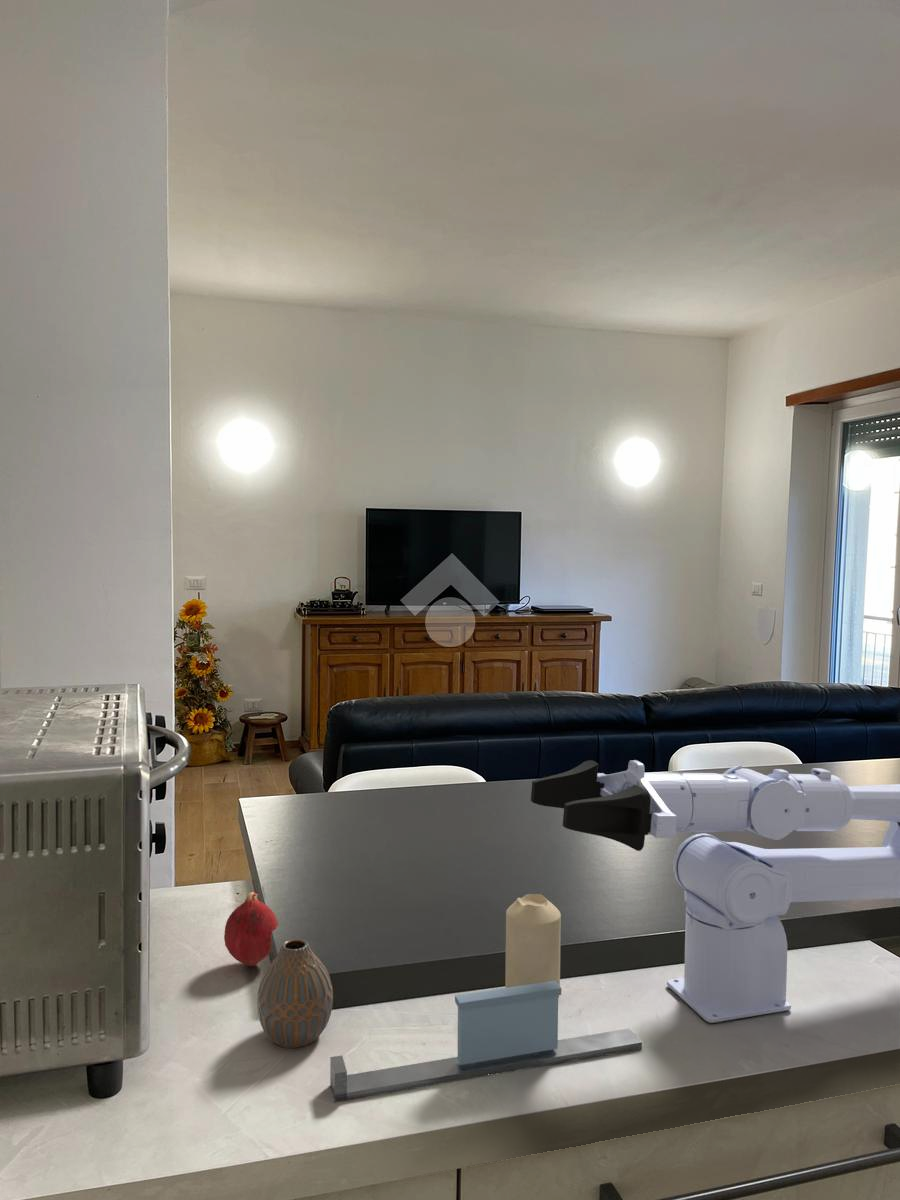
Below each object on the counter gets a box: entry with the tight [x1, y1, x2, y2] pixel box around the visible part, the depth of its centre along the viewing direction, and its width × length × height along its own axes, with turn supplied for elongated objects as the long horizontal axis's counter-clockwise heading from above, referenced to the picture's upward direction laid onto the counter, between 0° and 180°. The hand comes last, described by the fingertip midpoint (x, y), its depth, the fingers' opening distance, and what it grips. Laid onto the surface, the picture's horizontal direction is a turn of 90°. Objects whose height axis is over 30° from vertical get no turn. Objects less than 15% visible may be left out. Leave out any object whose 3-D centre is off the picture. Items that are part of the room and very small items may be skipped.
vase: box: [256, 938, 334, 1049], centre depth 81 cm, size 7×7×9 cm
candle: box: [504, 893, 562, 998], centre depth 89 cm, size 6×6×10 cm
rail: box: [329, 1028, 643, 1103], centre depth 76 cm, size 28×2×2 cm, turn 106°
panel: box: [454, 981, 562, 1065], centre depth 77 cm, size 9×1×6 cm, turn 106°
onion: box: [223, 891, 279, 967], centre depth 94 cm, size 6×6×8 cm
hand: (548, 803), depth 81 cm, fingers open, 7 cm apart
